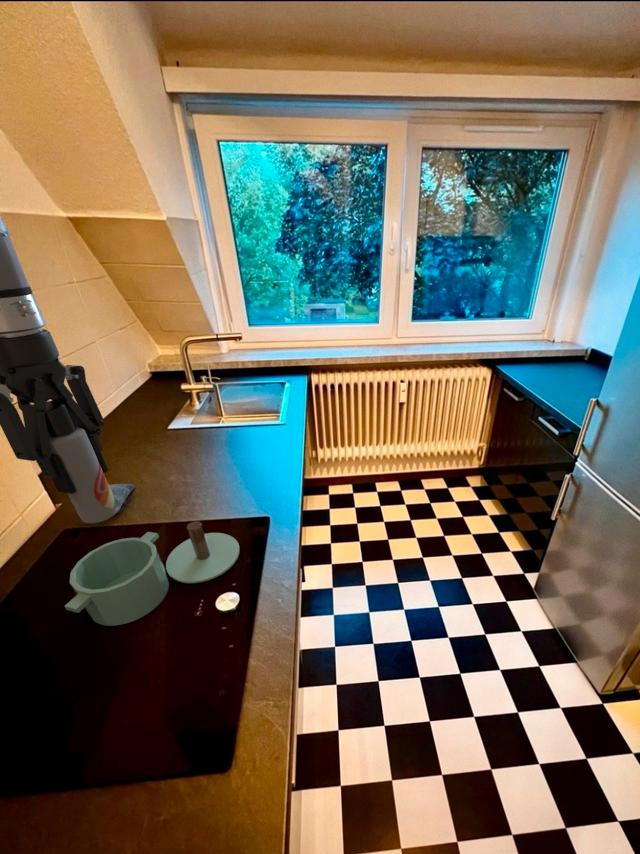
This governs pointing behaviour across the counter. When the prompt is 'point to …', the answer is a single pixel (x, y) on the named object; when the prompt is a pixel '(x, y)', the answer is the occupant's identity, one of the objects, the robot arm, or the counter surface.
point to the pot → (119, 581)
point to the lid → (202, 556)
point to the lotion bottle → (79, 465)
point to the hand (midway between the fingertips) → (84, 480)
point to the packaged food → (122, 494)
